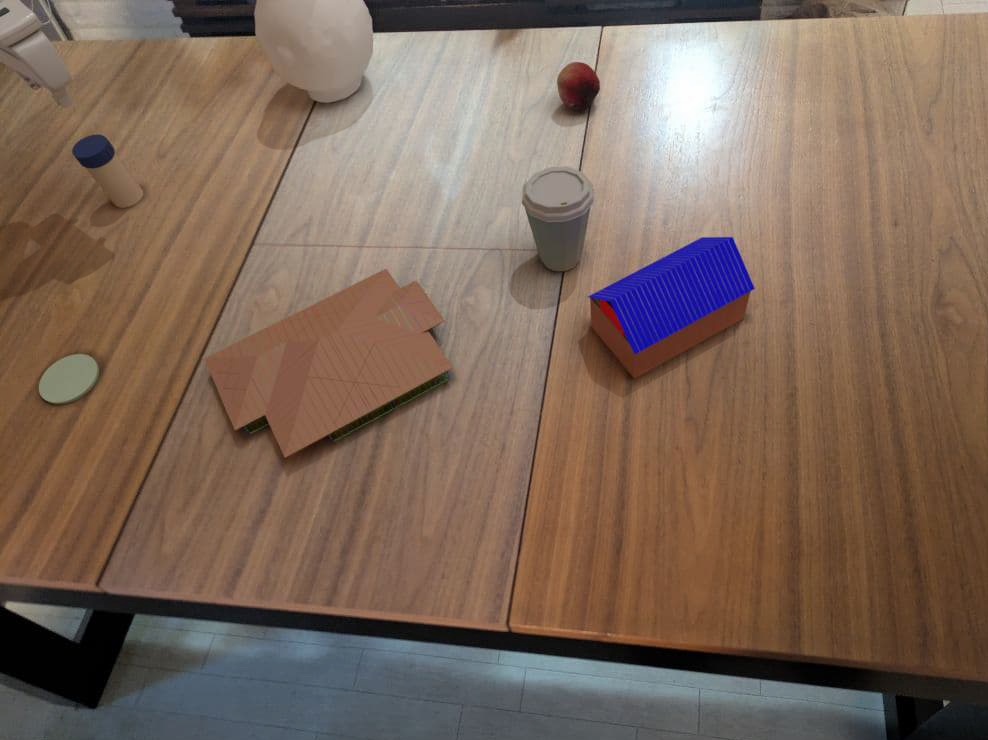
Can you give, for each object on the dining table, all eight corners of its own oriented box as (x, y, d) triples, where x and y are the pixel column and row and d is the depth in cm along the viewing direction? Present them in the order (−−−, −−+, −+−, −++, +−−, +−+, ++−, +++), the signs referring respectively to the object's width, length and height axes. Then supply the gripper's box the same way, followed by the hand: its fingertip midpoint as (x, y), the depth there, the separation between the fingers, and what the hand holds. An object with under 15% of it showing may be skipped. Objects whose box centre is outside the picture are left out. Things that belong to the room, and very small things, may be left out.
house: (747, 318, 104) (761, 263, 94) (633, 381, 100) (635, 331, 90) (697, 268, 109) (705, 211, 100) (588, 325, 106) (585, 272, 96)
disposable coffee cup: (524, 240, 116) (513, 167, 103) (587, 226, 116) (584, 151, 103) (537, 288, 110) (527, 217, 98) (604, 273, 111) (602, 200, 98)
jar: (113, 211, 129) (74, 162, 120) (113, 191, 132) (75, 142, 123) (143, 202, 130) (107, 153, 120) (143, 183, 133) (107, 133, 123)
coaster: (39, 411, 107) (36, 409, 106) (43, 366, 111) (40, 364, 111) (98, 394, 107) (96, 391, 107) (100, 349, 112) (97, 347, 111)
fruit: (585, 87, 135) (583, 48, 129) (608, 107, 132) (608, 68, 125) (551, 104, 134) (547, 64, 127) (573, 124, 130) (571, 85, 123)
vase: (361, 125, 136) (302, -40, 110) (268, 109, 141) (191, -51, 116) (403, 67, 144) (357, -98, 119) (313, 54, 150) (251, -106, 124)
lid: (79, 172, 121) (71, 161, 119) (80, 150, 124) (72, 140, 122) (115, 162, 122) (107, 151, 120) (115, 141, 125) (107, 130, 123)
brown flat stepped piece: (473, 371, 103) (463, 337, 96) (263, 485, 96) (236, 458, 90) (407, 274, 114) (393, 238, 107) (214, 370, 108) (187, 338, 101)
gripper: (-68, 1, 104) (1, 86, 116) (2, 40, 96) (69, 127, 108) (-29, -20, 106) (35, 65, 118) (42, 17, 99) (103, 104, 110)
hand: (51, 95), depth 113 cm, fingers open, 7 cm apart
